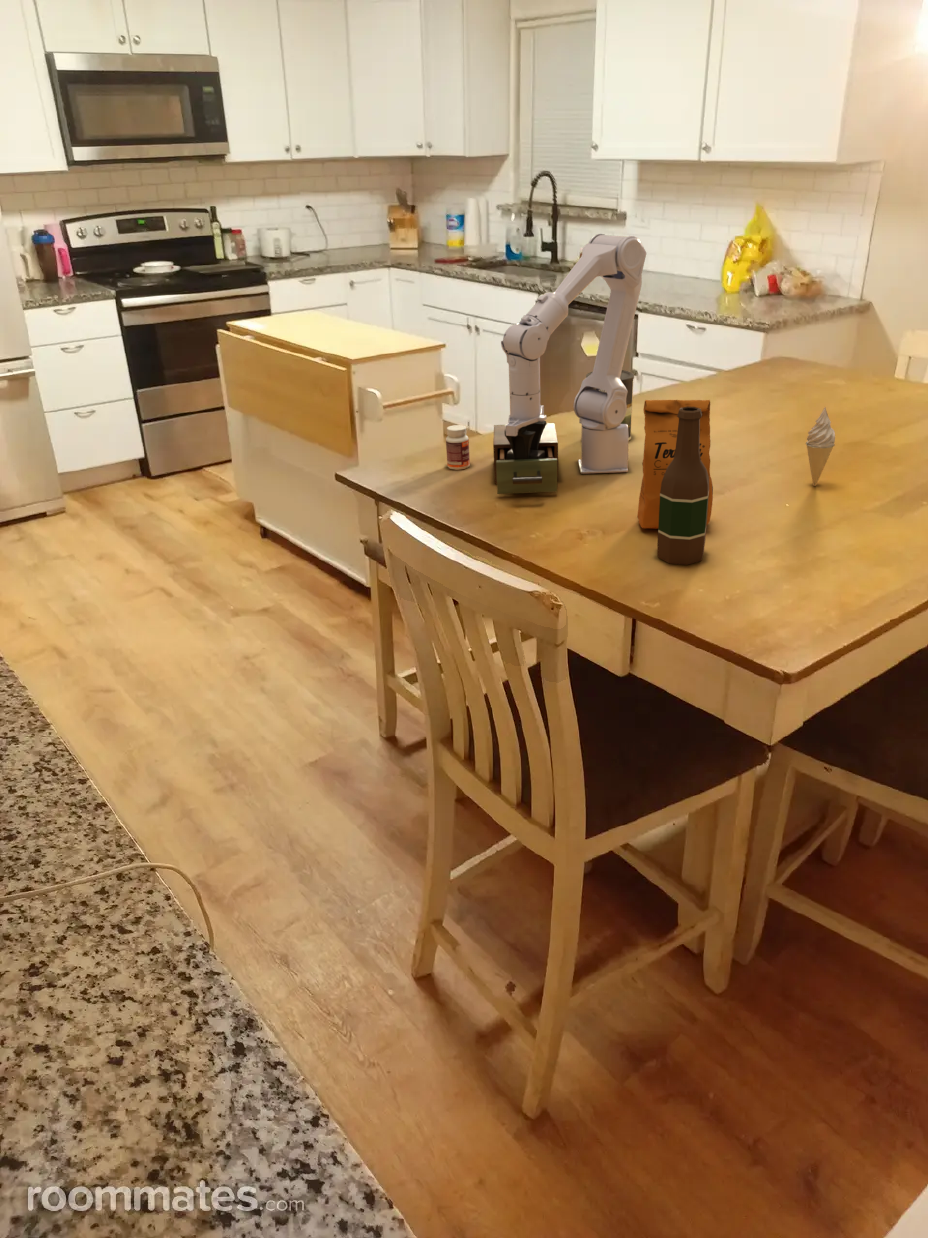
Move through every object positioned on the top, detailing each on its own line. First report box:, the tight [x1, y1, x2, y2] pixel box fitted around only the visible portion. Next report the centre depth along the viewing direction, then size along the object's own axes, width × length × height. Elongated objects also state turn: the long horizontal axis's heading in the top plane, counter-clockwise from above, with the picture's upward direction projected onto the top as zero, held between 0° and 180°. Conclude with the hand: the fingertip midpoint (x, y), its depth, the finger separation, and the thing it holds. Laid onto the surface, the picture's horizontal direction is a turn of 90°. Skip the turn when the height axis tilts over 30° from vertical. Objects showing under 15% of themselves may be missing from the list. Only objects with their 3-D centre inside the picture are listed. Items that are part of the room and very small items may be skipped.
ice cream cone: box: [805, 406, 836, 487], centre depth 169 cm, size 5×5×15 cm
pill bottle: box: [445, 424, 471, 471], centre depth 191 cm, size 5×5×8 cm
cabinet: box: [492, 422, 559, 485], centre depth 186 cm, size 14×13×8 cm
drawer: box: [496, 446, 558, 495], centre depth 176 cm, size 17×11×6 cm, turn 178°
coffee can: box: [585, 369, 635, 441], centre depth 202 cm, size 10×10×14 cm
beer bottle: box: [656, 406, 709, 566], centre depth 142 cm, size 8×8×24 cm
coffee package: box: [637, 399, 714, 530], centre depth 154 cm, size 10×12×22 cm
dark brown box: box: [507, 449, 545, 460], centre depth 176 cm, size 6×4×4 cm, turn 65°
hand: (526, 462), depth 176 cm, fingers closed on dark brown box, 3 cm apart
